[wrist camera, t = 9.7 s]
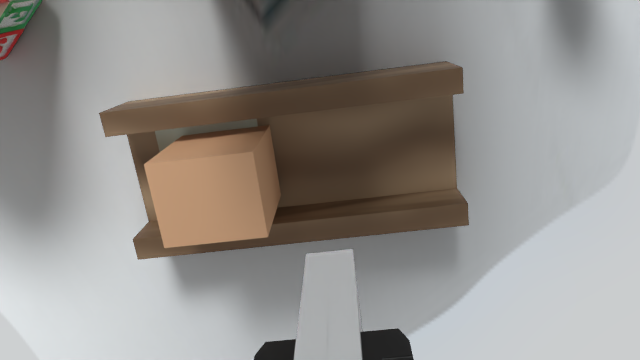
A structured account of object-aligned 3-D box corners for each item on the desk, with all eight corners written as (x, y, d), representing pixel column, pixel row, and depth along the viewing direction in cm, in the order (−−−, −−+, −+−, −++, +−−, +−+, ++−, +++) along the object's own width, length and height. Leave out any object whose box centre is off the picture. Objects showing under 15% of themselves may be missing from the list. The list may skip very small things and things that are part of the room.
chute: (128, 101, 35) (99, 113, 30) (446, 61, 33) (462, 67, 29) (160, 232, 38) (138, 259, 33) (452, 200, 36) (468, 225, 32)
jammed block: (182, 135, 33) (143, 164, 27) (269, 124, 33) (253, 151, 26) (196, 204, 35) (164, 248, 28) (281, 195, 34) (268, 237, 28)
